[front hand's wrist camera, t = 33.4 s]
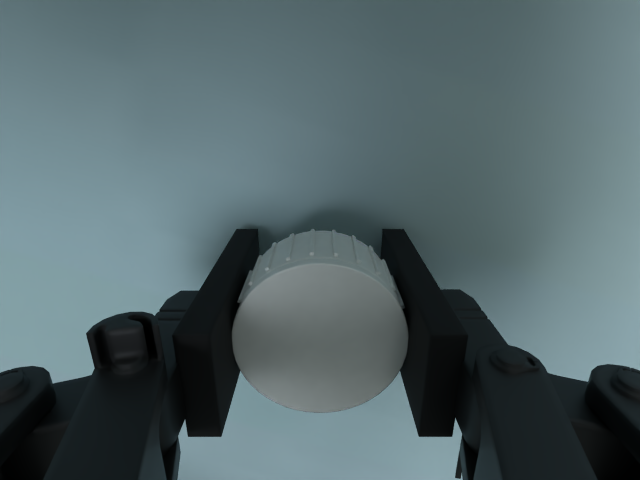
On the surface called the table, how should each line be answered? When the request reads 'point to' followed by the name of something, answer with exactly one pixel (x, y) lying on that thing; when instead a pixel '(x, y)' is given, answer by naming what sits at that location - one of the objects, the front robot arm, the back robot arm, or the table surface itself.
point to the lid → (320, 323)
